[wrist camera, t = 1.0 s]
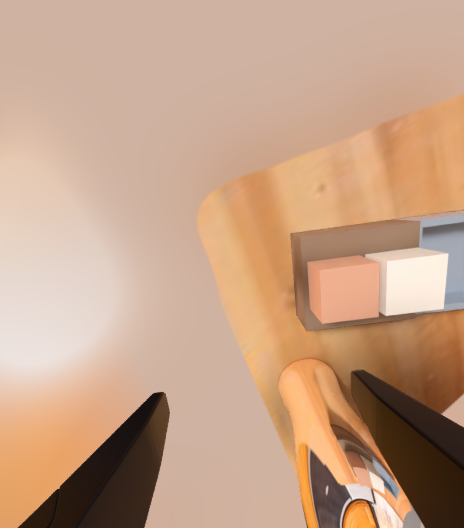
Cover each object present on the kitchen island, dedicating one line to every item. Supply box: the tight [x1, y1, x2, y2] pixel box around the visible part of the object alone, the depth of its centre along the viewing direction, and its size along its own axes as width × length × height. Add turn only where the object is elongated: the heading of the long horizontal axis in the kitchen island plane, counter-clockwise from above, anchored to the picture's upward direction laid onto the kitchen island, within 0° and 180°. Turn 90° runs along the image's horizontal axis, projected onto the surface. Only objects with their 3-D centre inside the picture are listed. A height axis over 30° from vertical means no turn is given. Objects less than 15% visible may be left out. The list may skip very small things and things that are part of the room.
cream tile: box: [365, 247, 449, 316], centre depth 16 cm, size 4×4×2 cm
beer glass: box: [278, 359, 425, 528], centre depth 16 cm, size 7×7×15 cm
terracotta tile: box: [307, 255, 380, 324], centre depth 17 cm, size 4×4×2 cm
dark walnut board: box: [291, 220, 421, 331], centre depth 19 cm, size 8×9×3 cm
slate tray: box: [393, 210, 464, 315], centre depth 19 cm, size 8×10×2 cm
